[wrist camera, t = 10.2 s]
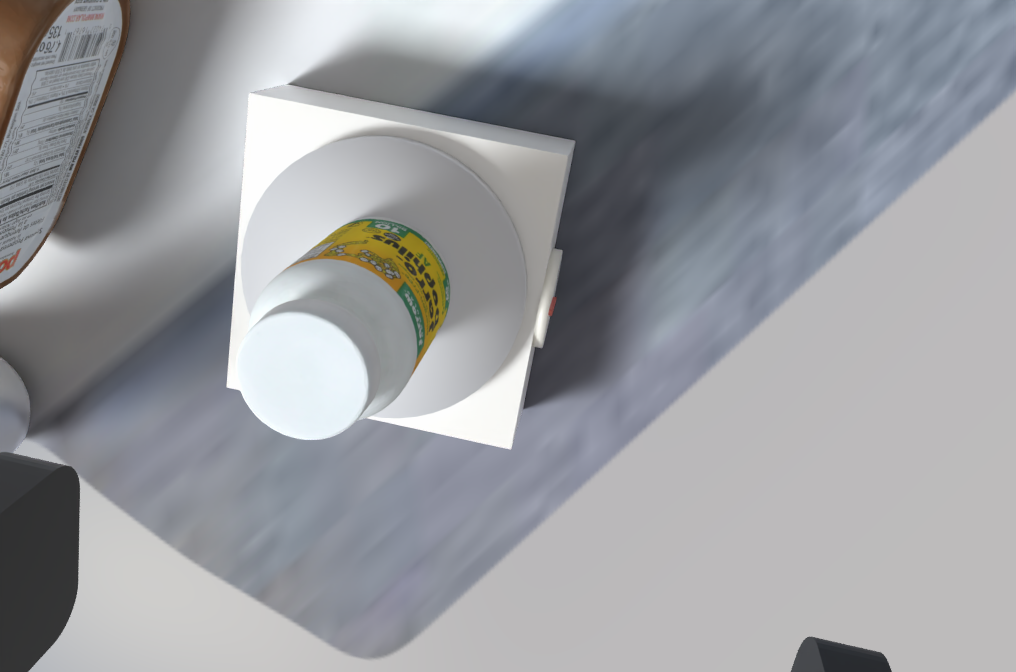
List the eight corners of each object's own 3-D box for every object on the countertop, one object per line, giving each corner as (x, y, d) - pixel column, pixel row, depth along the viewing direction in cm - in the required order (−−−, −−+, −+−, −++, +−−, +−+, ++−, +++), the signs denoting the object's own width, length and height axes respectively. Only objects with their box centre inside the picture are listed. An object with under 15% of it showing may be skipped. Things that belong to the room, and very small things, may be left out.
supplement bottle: (288, 265, 36) (172, 350, 27) (396, 184, 35) (310, 247, 26) (375, 375, 38) (290, 492, 29) (483, 302, 36) (430, 402, 27)
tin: (101, -66, 38) (-40, -83, 30) (170, -24, 38) (48, -31, 30) (-12, 249, 43) (-157, 304, 36) (50, 284, 44) (-80, 346, 36)
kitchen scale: (287, 84, 39) (240, 94, 35) (589, 143, 38) (581, 162, 34) (262, 353, 43) (218, 394, 39) (534, 412, 42) (521, 461, 38)
